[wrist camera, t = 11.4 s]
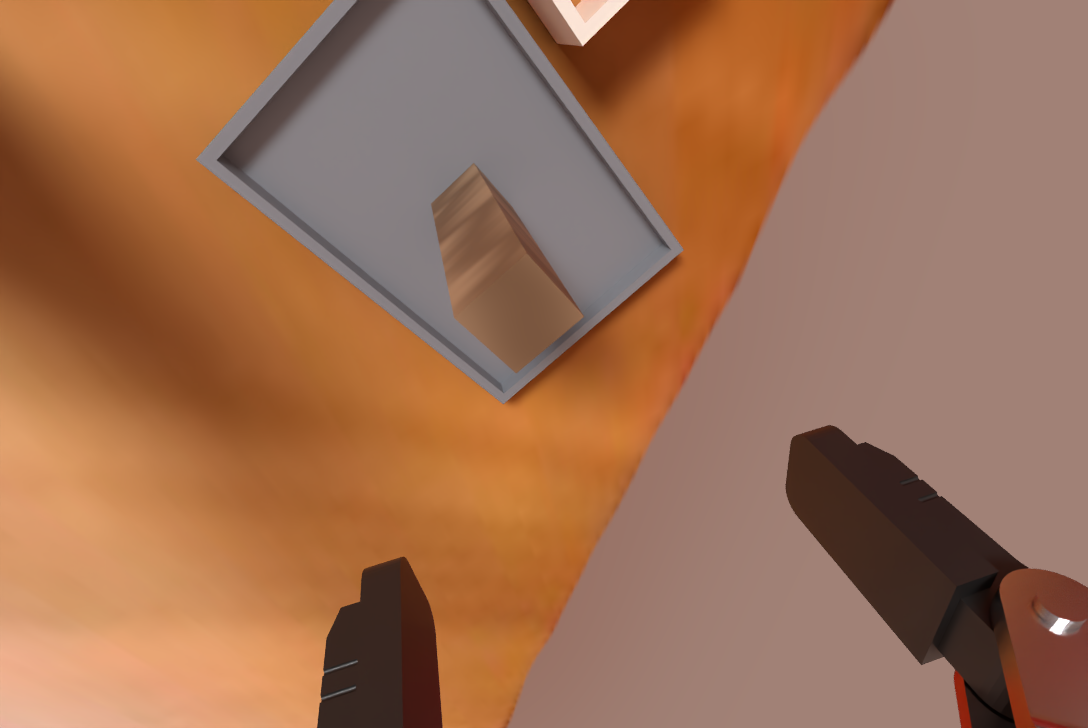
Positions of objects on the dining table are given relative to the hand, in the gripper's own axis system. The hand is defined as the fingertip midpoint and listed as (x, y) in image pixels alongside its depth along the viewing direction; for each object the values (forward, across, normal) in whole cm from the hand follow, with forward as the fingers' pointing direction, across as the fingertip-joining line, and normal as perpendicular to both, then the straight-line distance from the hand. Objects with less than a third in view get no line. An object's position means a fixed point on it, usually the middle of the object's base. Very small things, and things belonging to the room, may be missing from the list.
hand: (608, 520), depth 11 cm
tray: (+24, 0, 0) cm, 24 cm away
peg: (+23, 0, 0) cm, 23 cm away
